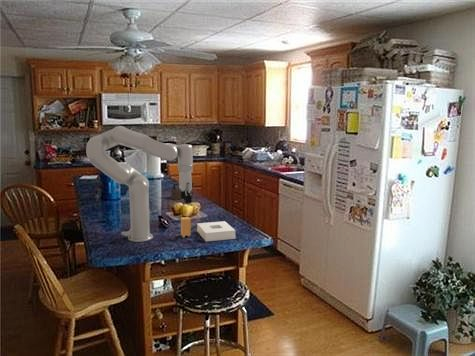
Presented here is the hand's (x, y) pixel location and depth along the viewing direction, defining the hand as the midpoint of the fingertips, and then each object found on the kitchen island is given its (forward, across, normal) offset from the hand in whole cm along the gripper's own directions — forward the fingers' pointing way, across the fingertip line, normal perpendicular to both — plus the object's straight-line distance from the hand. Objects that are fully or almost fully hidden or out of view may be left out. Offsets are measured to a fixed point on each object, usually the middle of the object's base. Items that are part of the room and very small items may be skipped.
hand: (186, 200), depth 209 cm
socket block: (+20, +2, +15) cm, 25 cm away
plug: (+19, 0, -1) cm, 19 cm away
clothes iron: (+20, -87, +16) cm, 90 cm away
